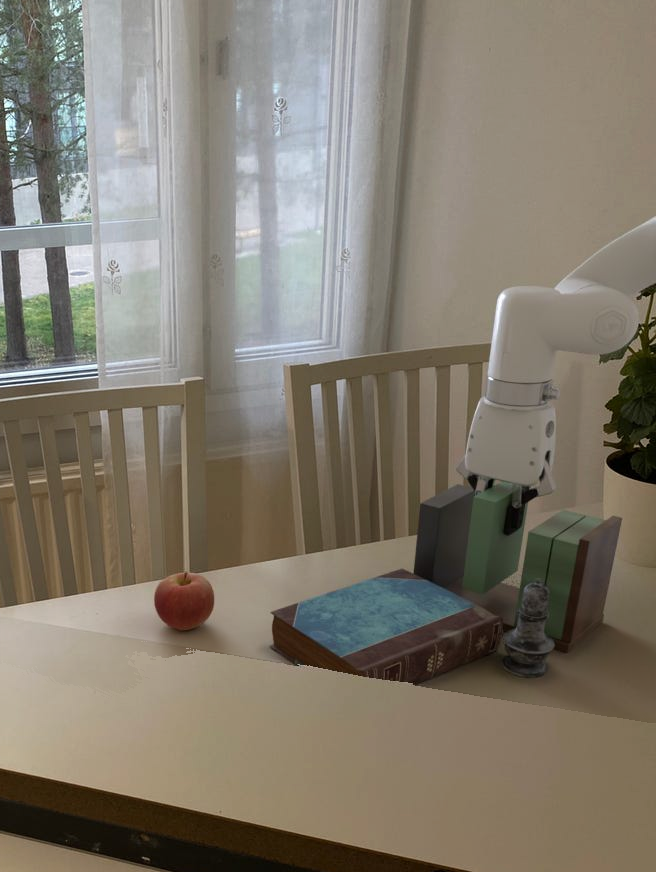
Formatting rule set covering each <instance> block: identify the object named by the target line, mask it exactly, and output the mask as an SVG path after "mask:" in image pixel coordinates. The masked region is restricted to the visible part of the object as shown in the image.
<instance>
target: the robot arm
mask: <svg viewBox="0 0 656 872" xmlns="http://www.w3.org/2000/svg"><path fill="white" fill-rule="evenodd" d="M654 284H656V215H655V216H653V217H651V218H650V219H648V220H647V221H646V222H644V223H641V224H640V225H638V226H636V227H635V228H633V229H631V230H629V231H628V232H626V233H624V234H622V235H620V236H619V237H617V238H616V239H614V240H612V241H610V242H609V243H608V244H606V245H605V246H603V247H601V248H600V249H599V250H598V251H597V252H595V253H594V254H593V255H591V256H590V257H589V258H588V259H586V260H585V261H583V262H582V263H581V264H579V266H578V267H576V268H575V269H574V270H572V271H571V272H570V273H569V274H568V275H567V276H565V277H564V278H562V280H561V281H560V282H559V283H557V285H556V286H555V287H554V288H553V287H547V286H540V285H539V286H538V285H519V286H511V287H508V288H505V289H504V290H503V291H501V292H500V293H499V295H498V297H497V301H496V305H495V311H494V312H495V313H494V321H493V329H492V337H491V344H490V353H489V360H488V367H487V368H488V369H487V376H486V384H485V390H484V396H482V397H480V399H479V401H478V403H477V406H476V410H475V412H474V415H473V419H472V422H471V425H470V430H469V434H468V439H467V443H466V451H465V455H464V456H463V458H462V459H461V461H460V462H459V463H458V465H457V466H456V472H457V473H458V474H459V475H460V476H461V477H463V478H464V479H465V480H467V482H468V483H469V485H470V487H472V488H473V489H474V491H475V496H476V495H478V494H480V493H482V492H483V491H485V490H487V489H489V488H491V487H493V486H495V485H496V481H500V482H502V481H504V482H508V483H512V501H511V505H510V506H508V507H507V511H506V518H505V525H504V532H503V533H504V535H507V536H509V535H511V534H512V533H514V532H516V531H517V530H518V529H520V528H521V526H522V523H523V517H524V510H525V504H526V503H527V502H528V503H529V502H531V501H532V500H534V499H535V498H541V497H543V496H548V495H550V494H552V493H554V492H556V491H557V485H556V481H555V479H554V475H553V469H554V463H555V462H554V461H555V452H556V451H555V450H556V440H557V439H556V438H557V437H556V436H557V435H556V434H557V433H556V432H557V417H556V406H555V404H553V403H549V402H550V401H551V400H557V401H558V400H560V398H561V396H562V389H561V388H558V387H556V386H554V379H553V375H554V368H555V363H556V357H557V352H558V351H560V352H571V353H577V354H583V355H591V356H592V355H593V356H596V355H598V356H600V355H607V354H610V353H614V352H616V351H619V350H621V349H622V348H623V347H625V346H627V345H628V344H629V343H630V341H632V339H633V338H634V337H635V335H636V333H637V330H638V328H639V323H640V315H639V310H638V307H637V306H636V304H635V303H634V301H633V300H632V299H631V298H632V297H634V296H635V295H637V294H639V292H641V291H643V290H645V289H646V288H649V287H651V286H652V285H654ZM538 483H539V485H537V484H538Z"/></svg>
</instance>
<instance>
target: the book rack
mask: <svg viewBox="0 0 656 872" xmlns="http://www.w3.org/2000/svg"><path fill="white" fill-rule="evenodd" d="M474 496H475V491H474V489H473V488H472V487H471V486H467V485H463V484H459V483H457V484H455V485H453V486H451V487H449V488H447V489H445V490H444V491H441V492H439V493H438V494H435V495H433V496H432V497H429V498H427V499H426V500H424V501H422V502H420V503H419V513H418V522H417V534H416V544H415V554H414V565H413V574H415V575H417V576H419V577H421V578H423V579H425V580H427V581H429V582H432V583H434V584H436V585H438V586H440V587H442V588H444V589H446V590H448V591H450V592H452V593H454V594H456V595H458V596H460V597H462V598H464V599H466V600H468V601H470V602H472V603H474V604H476V605H478V606H480V607H482V608H483V609H485V610H487V611H488V612H490V613H492V614H493V615H494V616H502V618H503V628H502V632H504V633H506V632H508V631H510V630H513V629H516V627H517V625H518V619H519V614H518V613H517V609H518V608H519V607H521V604H522V598H523V592H524V588H525V586H526V585H528V584H530V583H535V582H536V581H535V580H536V579H537V578H538V577H539V578H540V579H541V582H540V583H541V584H543V585H545V586H546V587H547V588H548V590H549V599H548V605H547V611H548V613H549V617H548V618H547V619H546V621H545V626H544V634H545V635H547V636H549V637H550V638H551V639H552V640H553V642H554V648H553V650H557V651H560V652H563V653H567V654H568V653H569V652H570V651H571V650H572V649H573V648H575V647H576V646H577V645H579V643H580V642H582V641H583V640H584V639H585V638H586V637H587V636H588V635H590V634H591V633H592V632H593V631H594V630H596V629H597V628H598V627H599V626H600V625H601V624H602V623H603V622H604V617H605V614H604V610H605V605H606V602H607V601H606V600H607V596H608V592H609V591H608V590H609V587H610V586H609V585H610V580H611V576H612V571H613V567H614V562H615V556H616V551H617V547H618V541H619V538H620V537H619V536H620V531H621V527H622V521H623V517H621V516H616V515H611V516H610V517H608V518H606V519H603V518H600V517H599V518H598V517H595V516H591V515H586V514H582V513H579V512H578V513H577V512H575V511H570V510H567V509H562V510H560V511H559V512H557V513H555V514H554V515H553V516H551V517H549V518H548V519H546V520H544V521H543V522H541V523H540V524H539V525H537V526H535V527H534V528H532V529H530V530H529V531H528V533H527V538H526V539H527V541H526V546H525V550H524V551H525V553H524V558H523V564H522V571H521V578H520V584H519V587H517V586H514V585H511V584H508V583H504V582H501V583H499V584H498V585H496V586H495V587H493V588H492V589H490V590H489V591H487V592H486V593H484V594H483V595H482V594H479V593H476V592H473V591H470V590H467V589H463V588H462V584H463V577H464V569H465V561H466V553H467V545H468V538H469V530H470V522H471V514H472V506H473V499H474Z"/></svg>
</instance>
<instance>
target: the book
mask: <svg viewBox="0 0 656 872" xmlns="http://www.w3.org/2000/svg"><path fill="white" fill-rule="evenodd" d="M413 573H414V572H413ZM413 573H412V572H411V571H409V570H407V569H405V568H399V569H396V570H393V571H390V572H387V573H384V574H380V575H378V576H375V577H372V578H369V579H366V580H363V581H360V582H356V583H354V584H351V585H348V586H344V587H341V588H339V589H336V590H333V591H329V592H327V593H324V594H321V595H318V596H315V597H311V598H308V599H305V600H302V601H300V602H296V603H293V604H290V605H286V606H284V607H281V608H278V609H275V610H272V611H270V614H271V615H272V616H273V620H272V622H271V634H272V640H273V644H270V645H269V648H271V649H272V650H274V651H276V652H277V653H278V654H280V655H281V656H282V657H284V658H286V659H287V660H289V661H290V662H292V663H293V664H294V665H296V664H300V665H307V666H309V665H310V666H313V667H318V668H323V669H328V670H332V671H337V672H343V673H348V674H353V675H358V676H363V677H369V678H376V679H382V680H390V681H399V682H408V683H413V684H415V685H417V684H420V683H422V682H425V681H427V680H430V679H432V678H434V677H437V676H439V675H441V674H444V673H446V672H448V671H451V670H454V669H456V668H458V667H460V666H463V665H466V664H468V663H470V662H473V661H475V660H477V659H480V658H482V657H485V656H487V655H490V654H492V653H494V652H497V651H498V649H499V647H500V643H501V638H502V634H503V631H502V628H503V618H502V616H494V615H493V614H492V613H490V612H488V611H487V610H485V609H483V608H482V607H480V606H478V605H476V604H474V603H472V602H470V601H468V600H466V599H464V598H462V597H460V596H458V595H456V594H454V593H452V592H450V591H448V590H446V589H444V588H442V587H440V586H438V585H436V584H434V583H432V582H429V581H427V580H425V579H423V578H421V577H419V576H417V575H415V574H413Z"/></svg>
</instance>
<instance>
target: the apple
mask: <svg viewBox="0 0 656 872" xmlns="http://www.w3.org/2000/svg"><path fill="white" fill-rule="evenodd" d="M153 601H154V602H153V603H154V608H155V611H156V613H157V616H158V617H159V618H160V620H161V621H162V622H163V623H164V624H166V625H167V626H168V627H170V628H172V629H175V630H179V631H189V630H193V629H195V628H197V627H199V626H201V625H203V624H204V623H205V622H206V621H207V620H208V619H209V618H210V616H211V615H212V613H213V611H214V607H215V591H214V589H213V586H212V584H211V583H210V580H208V579H207V578H206V577H204V576H203V574H202V575H201V574H199V573H196V572H188V571H184V572H179V573H174V574H171V575H168V576H167V577H164V578H163V579H162V580H161V581H160V582H159V583H158V585H157V586H156V588H155V591H154V597H153Z"/></svg>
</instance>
